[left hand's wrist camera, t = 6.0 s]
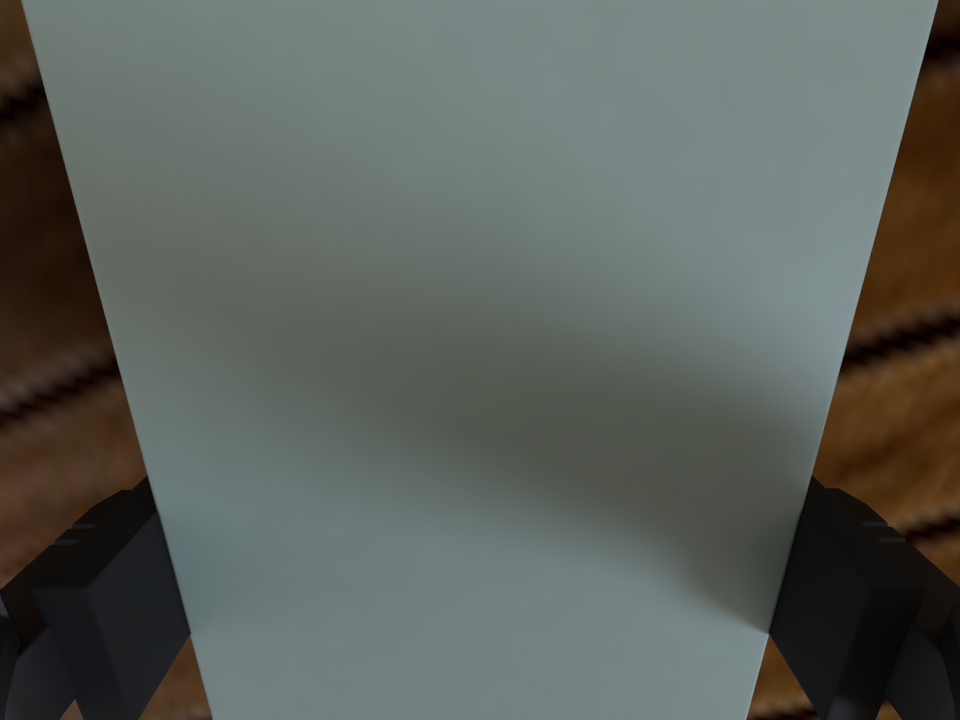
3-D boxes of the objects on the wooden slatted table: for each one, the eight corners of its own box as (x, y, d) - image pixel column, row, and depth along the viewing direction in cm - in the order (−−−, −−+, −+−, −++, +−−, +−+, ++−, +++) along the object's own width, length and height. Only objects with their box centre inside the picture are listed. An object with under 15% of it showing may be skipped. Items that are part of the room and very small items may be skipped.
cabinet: (256, -235, 12) (-323, -1258, 3) (702, -235, 12) (1282, -1254, 3) (336, 464, 19) (212, 728, 10) (622, 464, 19) (746, 727, 10)
